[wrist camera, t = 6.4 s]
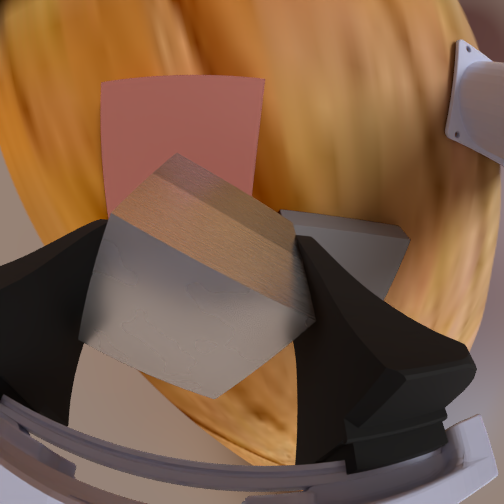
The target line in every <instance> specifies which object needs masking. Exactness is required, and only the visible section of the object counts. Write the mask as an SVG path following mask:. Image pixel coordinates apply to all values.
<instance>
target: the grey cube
mask: <svg viewBox="0 0 504 504" xmlns="http://www.w3.org/2000/svg"><path fill="white" fill-rule="evenodd" d="M295 235H296V233H295V229H294V225H293V222H291V221H290V220H288V219H286V218H285V217H283V216H282V215H280V214H279V213H277V212H275V211H274V210H272V209H271V208H269V207H268V206H266V205H264V204H263V203H261V202H260V201H258V200H256V199H255V198H253V197H251V196H250V195H248V194H247V193H245V192H243V191H242V190H240V189H238V188H237V187H235V186H233V185H232V184H230V183H228V182H227V181H225V180H223V179H222V178H220V177H218V176H217V175H215V174H213V173H212V172H210V171H208V170H206V169H205V168H203V167H201V166H199V165H198V164H196V163H194V162H193V161H191V160H189V159H187V158H186V157H184V156H182V155H180V154H178V153H176V154H174V155H173V156H172V157H171V158H170V159H168V160H167V161H166V162H165V163H164V164H162V165H161V166H160V167H159V168H158V169H157V170H156V171H154V172H153V173H152V174H151V175H150V176H149V177H148V178H147V179H146V180H144V181H143V182H142V183H141V184H140V185H139V186H138V187H137V188H136V189H135V190H134V191H133V192H132V193H130V194H129V195H128V196H127V197H126V198H125V199H124V200H123V201H122V202H121V203H120V204H119V205H118V206H117V207H116V208H115V209H114V210H113V211H112V212H111V214H110V217H109V220H108V223H107V226H106V229H105V232H104V235H103V238H102V241H101V244H100V247H99V251H98V254H97V258H96V261H95V265H94V268H93V272H92V276H91V280H90V284H89V288H88V292H87V296H86V301H85V305H84V310H83V315H82V320H81V326H80V331H79V337H78V340H80V341H82V342H84V343H85V344H87V345H89V346H91V347H93V348H95V349H96V350H98V351H100V352H102V353H104V354H106V355H108V356H110V357H112V358H114V359H116V360H118V361H120V362H122V363H124V364H126V365H128V366H130V367H133V368H135V369H137V370H139V371H141V372H144V373H146V374H148V375H151V376H153V377H155V378H158V379H160V380H163V381H165V382H168V383H170V384H173V385H175V386H178V387H181V388H183V389H186V390H189V391H192V392H194V393H197V394H200V395H203V396H206V397H209V398H212V399H216V398H218V397H219V396H221V395H222V394H223V393H225V392H226V391H228V390H229V389H231V388H232V387H233V386H235V385H236V384H237V383H239V382H240V381H242V380H243V379H244V378H246V377H247V376H248V375H250V374H251V373H252V372H254V371H255V370H256V369H258V368H259V367H260V366H262V365H263V364H264V363H266V362H267V361H268V360H269V359H271V358H272V357H273V356H275V355H276V354H277V353H278V352H280V351H281V350H282V349H283V348H285V347H286V346H287V345H288V344H289V343H291V342H292V341H293V340H294V339H296V338H297V337H298V336H299V335H300V334H301V333H303V332H304V331H305V330H306V329H307V328H309V327H310V326H311V325H312V324H313V323H314V322H315V321H316V318H315V314H314V309H313V304H312V300H311V295H310V291H309V287H308V282H307V278H306V274H305V270H304V265H303V261H302V257H301V254H300V252H299V248H298V244H297V240H296V236H295Z"/></svg>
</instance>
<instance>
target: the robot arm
mask: <svg viewBox="0 0 504 504" xmlns="http://www.w3.org/2000/svg"><path fill="white" fill-rule="evenodd" d="M466 47H467V49H468V51H467V50H466ZM456 132H457V135H456V137H455V133H456ZM445 134H446V136H447V137H448V138H449V139H452V140H454V141H456V142H458V143H460V144H462V145H464V146H467V147H469V148H471V149H473V150H475V151H477V152H478V153H480V154H482V155H484V156H486V157H488V158H490V159H491V160H493V161H495V162H497V163H499V164H500V165H502V166H504V63H500V62H493V61H491V60H490V59H489V58H488V57H486V56H485V55H483V54H482V53H481V52H480V51H478V50H477V49H475V48H474V47H472V46H471V45H470V44H468V43H467V42H465V41H464V40H457V41H456V54H455V67H454V77H453V86H452V93H451V100H450V106H449V112H448V118H447V123H446V128H445ZM107 223H108V220H104V219H100V220H96V221H94V222H91V223H89V224H87V225H85V226H83V227H80V228H79V229H77V230H75V231H73V232H71V233H69V234H67V235H65V236H63V237H61V238H59V239H58V240H56V241H54V242H52V243H50V244H48V245H46V246H44V247H42V248H40V249H38V250H36V251H35V252H32V253H30V254H28V255H26V256H24V257H22V258H19V259H17V260H15V261H13V262H10V263H7V264H4V265H2V266H0V504H147V503H143V502H139V501H136V500H132V499H128V498H125V497H122V496H119V495H115V494H113V493H110V492H107V491H104V490H101V489H99V488H96V487H93V486H91V485H88V484H86V483H83V482H81V481H79V480H77V479H75V477H74V474H75V470H76V465H75V464H74V463H72V462H70V461H68V460H66V459H65V458H63V457H61V456H59V455H58V454H56V453H54V452H53V451H51V450H50V449H48V448H47V447H46V446H44V445H43V444H42V443H40V442H38V441H37V440H35V439H33V438H32V437H30V434H29V432H30V433H32V434H34V435H35V436H37V437H39V438H41V439H43V440H45V441H47V442H49V443H51V444H53V445H55V446H57V447H59V448H61V449H63V450H65V451H68V452H70V453H72V454H75V455H77V456H79V457H82V458H84V459H87V460H90V461H92V462H95V463H97V464H100V465H103V466H106V467H109V468H113V469H115V470H119V471H122V472H125V473H129V474H132V475H136V476H140V477H144V478H148V479H152V480H156V481H162V482H166V483H171V484H177V485H183V486H190V487H196V488H204V489H215V490H226V491H246V492H249V491H250V492H273V491H274V492H275V491H295V490H303V491H302V492H295V493H285V494H276V495H260V496H248V497H247V498H245V501H243V502H242V504H458V503H460V502H461V501H463V500H464V499H466V498H467V497H469V496H470V495H471V494H473V493H474V492H476V491H477V490H479V489H480V488H481V487H483V486H484V485H486V484H487V483H488V482H490V481H491V480H493V479H494V478H495V477H497V475H498V470H497V466H496V462H495V458H494V454H493V451H492V447H491V444H490V441H489V437H488V434H487V431H486V428H485V425H484V422H483V420H482V417H481V414H477V415H475V416H473V417H470V418H468V419H465V420H463V421H460V422H458V423H456V424H455V425H453V426H451V427H449V428H448V429H446V430H445V429H444V426H443V423H442V421H444V420H446V419H447V413H446V410H445V407H446V406H447V405H448V404H450V403H451V402H452V401H453V400H454V399H455V398H456V397H457V396H458V395H460V394H461V393H462V392H463V391H464V390H465V388H467V386H468V385H469V384H470V383H471V382H472V380H473V379H474V376H475V373H476V370H477V368H476V365H475V363H474V361H473V359H472V357H471V355H470V353H469V351H468V349H467V347H466V346H465V344H463V343H460V342H458V341H456V340H453V339H451V338H449V337H446V336H444V335H442V334H439V333H437V332H435V331H433V330H431V329H429V328H427V327H426V326H424V325H422V324H420V323H418V322H416V321H414V320H413V319H411V318H409V317H407V316H406V315H404V314H403V313H401V312H400V311H398V310H396V309H395V308H393V307H392V306H390V305H389V304H387V303H386V302H384V301H383V300H382V299H380V298H379V297H378V296H376V295H375V294H374V293H372V292H371V291H370V290H368V289H367V288H366V287H365V286H363V285H362V284H361V283H360V282H359V281H358V280H356V279H355V278H354V277H353V276H352V275H351V274H350V273H349V272H348V271H346V270H345V269H344V268H343V267H342V266H341V265H340V264H339V263H338V262H337V261H336V260H335V259H334V258H333V257H332V256H331V255H330V254H329V253H328V252H327V251H326V250H325V249H324V248H323V247H322V246H321V245H320V244H319V243H318V242H317V241H316V240H315V239H314V238H312V237H311V236H302V235H295V236H296V240H297V244H298V248H299V252H300V254H301V257H302V261H303V265H304V270H305V274H306V278H307V282H308V287H309V291H310V295H311V300H312V304H313V309H314V314H315V318H316V321H315V322H314V323H313V324H312V325H311V326H310V327H309V328H307V329H306V330H305V331H304V332H303V333H301V334H300V335H299V336H298V337H297V338H296V339H294V340H293V343H294V349H295V356H296V368H297V401H298V415H297V446H296V462H295V465H289V466H242V465H226V464H213V463H204V462H197V461H190V460H183V459H176V458H171V457H166V456H161V455H156V454H151V453H147V452H142V451H139V450H135V449H131V448H127V447H124V446H120V445H117V444H113V443H110V442H107V441H104V440H101V439H98V438H95V437H92V436H89V435H87V434H84V433H81V432H79V431H76V430H74V429H71V428H69V427H67V426H68V421H69V409H70V399H71V393H72V387H73V381H74V376H75V372H76V368H77V364H78V361H79V357H80V353H81V350H82V347H83V344H84V342H82V341H80V340H78V337H79V331H80V326H81V320H82V315H83V310H84V305H85V301H86V296H87V292H88V288H89V284H90V280H91V276H92V272H93V268H94V265H95V261H96V258H97V254H98V251H99V247H100V244H101V241H102V238H103V235H104V232H105V229H106V226H107Z"/></svg>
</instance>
